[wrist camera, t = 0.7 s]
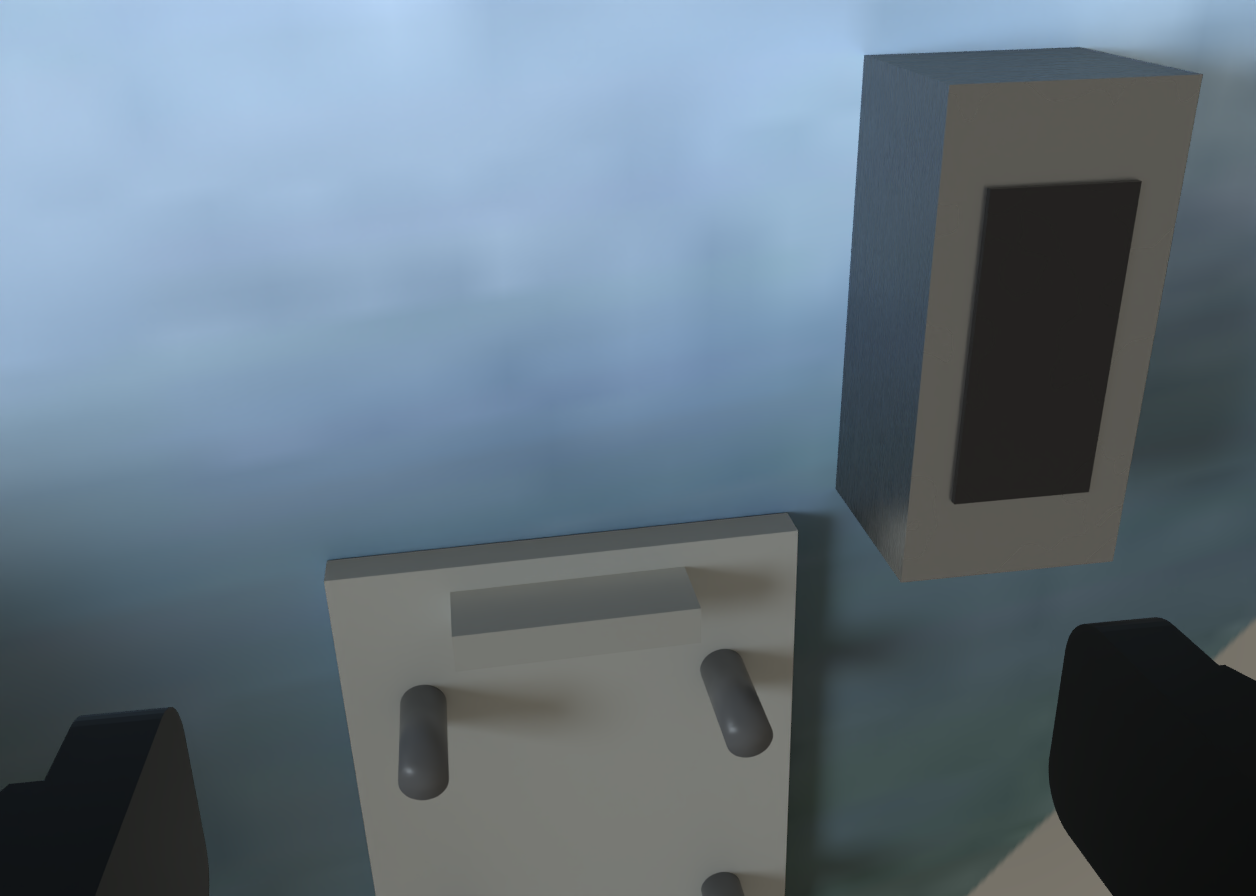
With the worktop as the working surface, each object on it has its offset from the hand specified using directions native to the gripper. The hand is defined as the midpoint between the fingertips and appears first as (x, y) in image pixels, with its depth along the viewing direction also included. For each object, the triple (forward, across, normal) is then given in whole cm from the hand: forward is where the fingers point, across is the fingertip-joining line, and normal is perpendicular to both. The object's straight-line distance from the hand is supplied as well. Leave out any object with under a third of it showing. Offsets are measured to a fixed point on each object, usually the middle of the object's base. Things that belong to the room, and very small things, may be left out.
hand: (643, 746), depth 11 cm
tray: (+19, -1, +15) cm, 24 cm away
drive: (+19, -11, +1) cm, 21 cm away
